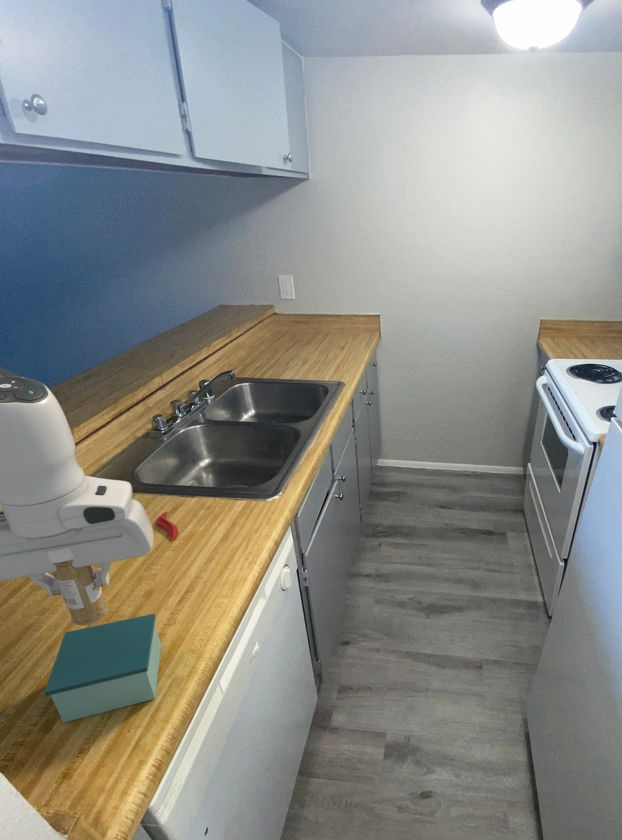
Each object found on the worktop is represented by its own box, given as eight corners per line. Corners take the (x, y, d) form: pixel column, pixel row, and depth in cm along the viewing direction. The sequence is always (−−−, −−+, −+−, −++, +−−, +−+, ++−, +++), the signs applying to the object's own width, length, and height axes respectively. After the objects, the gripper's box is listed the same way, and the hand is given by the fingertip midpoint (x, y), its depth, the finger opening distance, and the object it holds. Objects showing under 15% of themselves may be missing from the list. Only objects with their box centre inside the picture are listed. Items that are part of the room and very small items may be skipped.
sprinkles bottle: (114, 612, 68) (88, 538, 62) (80, 632, 65) (49, 556, 58) (99, 597, 70) (73, 524, 64) (65, 616, 67) (34, 541, 61)
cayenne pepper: (156, 514, 113) (155, 508, 112) (177, 510, 114) (176, 504, 113) (155, 545, 103) (153, 538, 102) (178, 540, 105) (176, 533, 104)
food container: (60, 725, 68) (44, 692, 64) (78, 664, 77) (65, 632, 73) (157, 700, 72) (146, 667, 68) (163, 644, 81) (154, 613, 77)
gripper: (-67, 535, 53) (-21, 623, 59) (136, 506, 59) (159, 588, 66) (-42, 504, 58) (-1, 588, 64) (143, 480, 64) (163, 558, 71)
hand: (81, 587), depth 65 cm, fingers closed on sprinkles bottle, 4 cm apart
